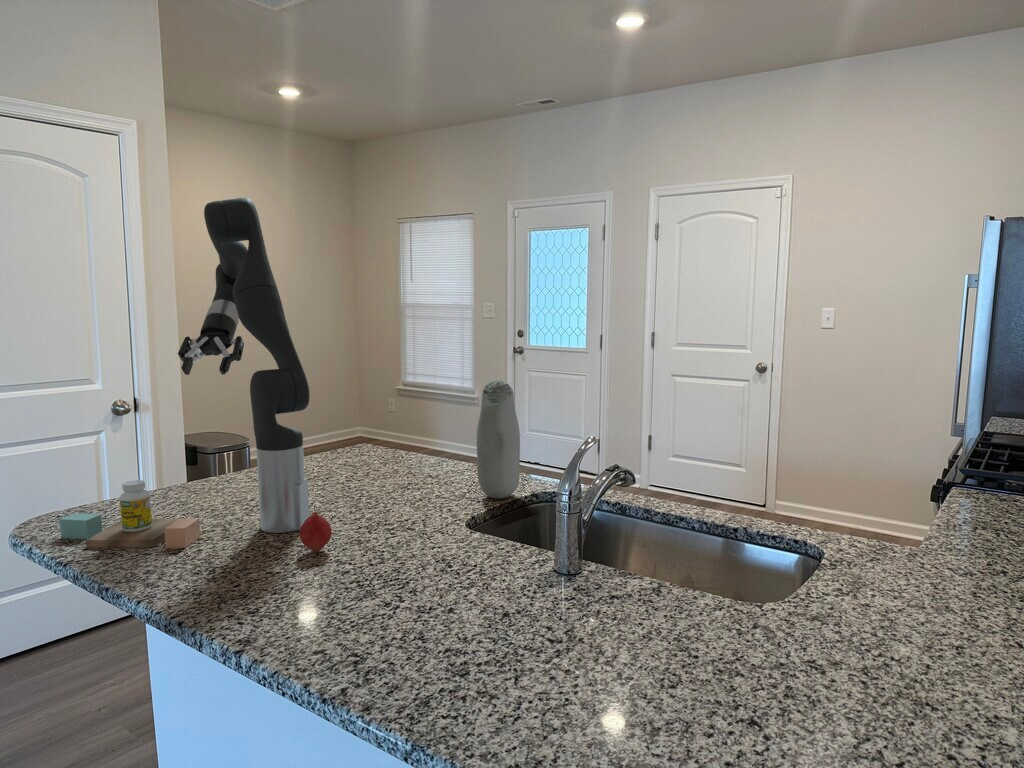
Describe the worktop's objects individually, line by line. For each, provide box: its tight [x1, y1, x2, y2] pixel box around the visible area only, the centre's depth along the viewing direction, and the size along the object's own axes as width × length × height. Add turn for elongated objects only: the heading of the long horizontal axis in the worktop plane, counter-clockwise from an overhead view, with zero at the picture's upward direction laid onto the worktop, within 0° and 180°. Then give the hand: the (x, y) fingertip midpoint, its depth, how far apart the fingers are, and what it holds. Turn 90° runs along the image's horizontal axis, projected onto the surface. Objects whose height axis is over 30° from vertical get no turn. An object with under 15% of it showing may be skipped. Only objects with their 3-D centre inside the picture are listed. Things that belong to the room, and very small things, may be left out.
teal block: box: [59, 512, 103, 540], centre depth 140 cm, size 6×4×4 cm, turn 81°
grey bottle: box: [476, 380, 521, 500], centre depth 163 cm, size 10×10×28 cm
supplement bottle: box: [119, 479, 153, 532], centre depth 139 cm, size 5×5×10 cm
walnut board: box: [85, 517, 186, 549], centre depth 139 cm, size 13×13×2 cm
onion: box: [299, 510, 332, 553], centre depth 129 cm, size 6×6×8 cm
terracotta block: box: [164, 517, 201, 549], centre depth 135 cm, size 6×4×4 cm, turn 0°
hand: (203, 372), depth 161 cm, fingers open, 8 cm apart
